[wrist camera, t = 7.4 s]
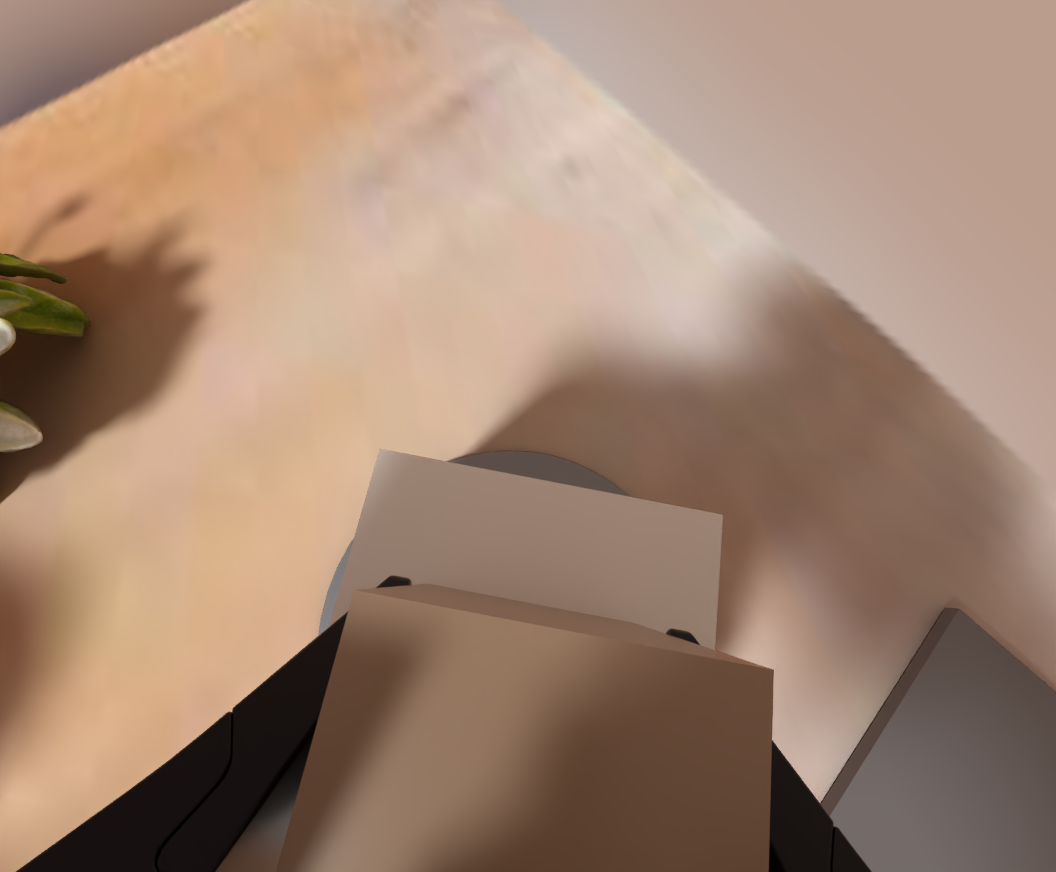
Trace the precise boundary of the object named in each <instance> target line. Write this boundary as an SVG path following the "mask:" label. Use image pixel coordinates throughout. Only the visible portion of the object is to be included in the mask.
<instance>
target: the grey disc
mask: <svg viewBox="0 0 1056 872" xmlns="http://www.w3.org/2000/svg"><path fill="white" fill-rule="evenodd" d="M451 463H457V464H462V465H467V466H472V467H478V468H483V469H488V470H493V471H498V472H504V473H509V474H514V475H519V476H524V477H530V478H535V479H540V480H545V481H550V482H556V483H561V484H566V485H571V486H577V487H582V488H587V489H592V490H597V491H603V492H608V493H613V494H618V495H623V496H629V495H628V494H626V493H625V492H624V491H622V490H621V489H620V488H618V487H617V486H616V485H615V484H613V483H612V482H611V481H609V480H607V479H606V478H604V477H602V476H601V475H599V474H597V473H596V472H594V471H592V470H590V469H588V468H586V467H583V466H581V465H579V464H576V463H574V462H572V461H569V460H565V459H562V458H559V457H555V456H552V455H547V454H541V453H535V452H528V451H497V452H486V453H480V454H476V455H471V456H467V457H462V458H459V459H456V460H453V461H451ZM629 497H630V496H629ZM353 540H354V539H353ZM353 540H352V542H351V543H350V545H349V546H348V548H347V550H346V552H345V554H344V556H343V558H342V559H341V561H340V563H339V565H338V567H337V569H336V572H335V574H334V577H333V580H332V582H331V585H330V587H329V590H328V592H327V596H326V600H325V604H324V608H323V612H322V616H321V621H320V628H319V635H320V634H321V633H322V632H324V631H325V630H326V629H327V628H328V627H329V624H330V620H331V617H332V613H333V610H334V607H335V603H336V600H337V596H338V593H339V589H340V586H341V582H342V579H343V575H344V572H345V568H346V565H347V561H348V558H349V554H350V551H351V547H352V544H353Z"/></svg>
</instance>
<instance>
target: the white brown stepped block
mask: <svg viewBox="0 0 1056 872" xmlns="http://www.w3.org/2000/svg"><path fill="white" fill-rule="evenodd" d="M722 526H723V515H722V514H717V513H712V512H707V511H702V510H696V509H691V508H686V507H681V506H676V505H670V504H665V503H660V502H655V501H649V500H644V499H639V498H634V497H629V496H623V495H618V494H613V493H608V492H603V491H597V490H592V489H587V488H582V487H577V486H571V485H566V484H561V483H556V482H550V481H545V480H540V479H535V478H530V477H524V476H519V475H514V474H509V473H504V472H498V471H493V470H488V469H483V468H478V467H472V466H467V465H462V464H457V463H451V462H446V461H441V460H436V459H431V458H425V457H420V456H415V455H410V454H405V453H399V452H394V451H389V450H384V449H380V450H379V453H378V457H377V460H376V464H375V467H374V471H373V474H372V478H371V481H370V484H369V488H368V491H367V495H366V498H365V502H364V505H363V509H362V512H361V516H360V519H359V523H358V526H357V530H356V533H355V537H354V540H353V544H352V547H351V551H350V554H349V558H348V561H347V565H346V568H345V572H344V575H343V579H342V582H341V586H340V589H339V593H338V596H337V600H336V603H335V607H334V610H333V613H332V617H331V620H330V624H329V627H330V626H331V625H332V624H333V623H334V622H335V621H337V620H338V619H339V618H340V617H341V616H343V615H344V614H345V613H346V612H347V611H348V614H347V617H346V621H345V625H344V628H343V632H342V635H341V639H340V643H339V646H338V650H337V653H336V657H335V661H334V664H333V668H332V671H331V675H330V679H329V682H328V686H327V689H326V693H325V697H324V700H323V704H322V707H321V711H320V715H319V718H318V722H317V725H316V729H315V733H314V736H313V740H312V743H311V747H310V751H309V754H308V758H307V761H306V765H305V769H304V772H303V776H302V779H301V783H300V787H299V790H298V794H297V797H296V801H295V805H294V808H293V812H292V815H291V819H290V823H289V826H288V830H287V833H286V837H285V841H284V844H283V848H282V851H281V855H280V859H279V862H278V866H277V869H276V872H769V838H770V797H771V757H772V716H773V675H774V670H772V669H769V668H766V667H763V666H760V665H757V664H754V663H751V662H748V661H745V660H742V659H739V658H736V657H734V656H731V655H728V654H725V653H722V652H719V651H716V650H715V645H716V628H717V611H718V594H719V577H720V560H721V543H722ZM392 575H395V576H400V577H406V578H409V579H410V580H411V582H412V585H410V586H395V587H383V588H376V587H377V586H378V585H379V584H380V583H382V582H383V581H384V580H385V579H386V578H388V577H389V576H392ZM672 628H673V629H678V630H683V631H688V632H690V633H691V634H692V635H693V636H694V637H695V638H696V640H697V641H698V642H699V644H700V645H698V644H695V643H692V642H689V641H686V640H683V639H680V638H677V637H674V636H671V635H668V634H666V632H667V631H668V630H669V629H672Z"/></svg>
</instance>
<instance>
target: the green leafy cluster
mask: <svg viewBox="0 0 1056 872" xmlns="http://www.w3.org/2000/svg"><path fill="white" fill-rule="evenodd" d="M0 275H2V276H7V277H16V276H24V277H34V278H47V279H50V280H52V281H54V282H57V283H60V284H63V283H65V282H66V281H67V279H66V277H65V276H63V275H62V274H60V273H57V272H55V271H52V270H50V269H48V268H47V267H43V266H39V265H37V264H34V263H32V262H28V261H24V260H21V259H19V258H18V257H16V256H14V255H10V254H1V253H0ZM89 322H90V321H89V319H88V316H87V315H86V313H85V312H84V311H82V310H80V308H79V307H78V306H77V305H75V304H74V303H72V302H69V301H66V300H63V299H61V298H59V297H57V296H55V295H53V294H52V293H50V292H48V291H45V290H41V289H37V288H34V287H31V286H28V285H25V284H22V283H16V282H12V281H10V280H7V279H0V355H2V354H3V353H5V352H6V351H8V350H9V349H10V348H11V347H12V345H13V344H14V343H15V341H16V339H15V338H16V333H15V332H22V333H38V334H48V335H56V336H74V337H81V336H83V333H84V328H88V327H89ZM42 440H43V436H42V433H41V430H40V428H39V427H38V426H37V424H36V423H35V421H34V420H33V419H32V418H31V417H30V416H29V415H28V414H26V413H25V412H24V411H22V410H21V409H19V408H17V407H15V406H12V405H10V404H7V403H4V402H2V401H0V452H15V451H18V450H21V449H25V448H31V447H33V446H35V445H38V444H39V443H41V442H42Z"/></svg>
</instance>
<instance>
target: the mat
mask: <svg viewBox="0 0 1056 872" xmlns="http://www.w3.org/2000/svg"><path fill="white" fill-rule="evenodd" d="M821 806H822V807H823V808H824V810H825V811H826V812H827V814H828V815H829V816H830V818H831V819H832V820H833V822H834V826H836V827H838V828H839V829H840V831H841V832H842V833H843V835H844V836H845V837H846V838H847V840H848V841H849V842H850V844H851V845H852V846H853V848H854V849H855V850H856V852H857V853H858V854H859V856H860V857H861V858H862V860H863V861H864V862H865V863H866V865H867V866H868V867H869V868H870V870H871V871H872V872H1056V692H1055V691H1054V690H1053V689H1052V688H1051V687H1049V686H1048V685H1047V684H1046V683H1045V682H1044V681H1042V680H1041V679H1040V678H1039V677H1038V676H1037V675H1035V674H1034V673H1033V672H1032V671H1031V670H1030V669H1028V668H1027V667H1026V666H1025V665H1024V664H1023V663H1022V662H1020V661H1019V660H1018V659H1017V658H1016V657H1015V656H1013V655H1012V654H1011V653H1010V652H1009V651H1008V650H1006V649H1005V648H1004V647H1003V646H1002V645H1001V644H999V643H998V642H997V641H996V640H995V639H994V638H992V637H991V636H990V635H989V634H988V633H987V632H986V631H984V630H983V629H982V628H981V627H980V626H979V625H977V624H976V623H975V622H974V621H973V620H972V619H970V618H969V617H968V616H967V615H966V614H965V613H963V612H962V611H961V610H960V609H955V608H945V609H944V611H943V612H942V614H941V615H940V617H939V619H938V620H937V622H936V623H935V625H934V626H933V628H932V630H931V631H930V633H929V634H928V636H927V637H926V639H925V641H924V642H923V644H922V645H921V647H920V648H919V650H918V652H917V653H916V655H915V656H914V658H913V660H912V661H911V663H910V664H909V666H908V667H907V669H906V671H905V672H904V674H903V675H902V677H901V678H900V680H899V682H898V683H897V685H896V686H895V688H894V689H893V691H892V693H891V694H890V696H889V697H888V699H887V701H886V702H885V704H884V705H883V707H882V708H881V710H880V712H879V713H878V715H877V716H876V718H875V719H874V721H873V723H872V724H871V726H870V727H869V729H868V730H867V732H866V734H865V735H864V737H863V738H862V740H861V742H860V743H859V745H858V746H857V748H856V749H855V751H854V753H853V754H852V756H851V757H850V759H849V760H848V762H847V764H846V765H845V767H844V768H843V770H842V772H841V773H840V775H839V776H838V778H837V779H836V781H835V783H834V784H833V786H832V787H831V789H830V790H829V792H828V794H827V795H826V797H825V798H824V800H823V801H822V803H821Z"/></svg>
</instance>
